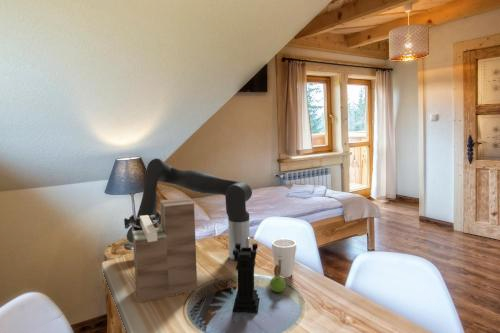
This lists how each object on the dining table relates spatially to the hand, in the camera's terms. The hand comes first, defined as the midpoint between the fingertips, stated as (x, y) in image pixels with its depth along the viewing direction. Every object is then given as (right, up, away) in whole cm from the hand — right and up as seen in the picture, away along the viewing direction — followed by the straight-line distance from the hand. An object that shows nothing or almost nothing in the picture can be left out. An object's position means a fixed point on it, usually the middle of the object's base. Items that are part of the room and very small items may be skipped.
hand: (145, 216), depth 128 cm
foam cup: (+52, -24, +9) cm, 58 cm away
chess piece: (+37, -28, -13) cm, 48 cm away
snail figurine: (+48, -26, -4) cm, 55 cm away
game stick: (+3, -5, -5) cm, 7 cm away
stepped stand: (+8, -26, -2) cm, 28 cm away
